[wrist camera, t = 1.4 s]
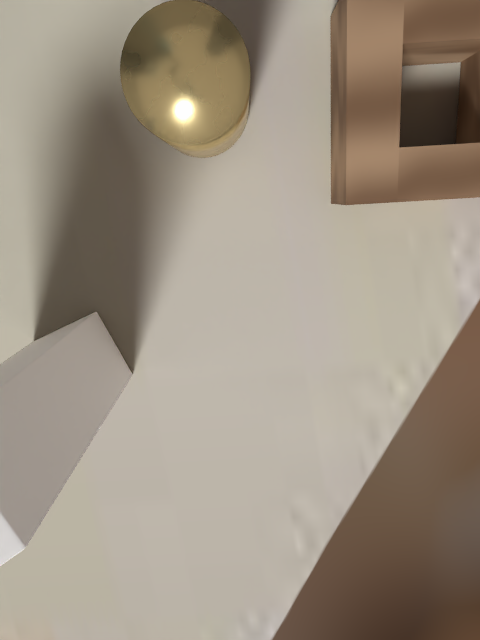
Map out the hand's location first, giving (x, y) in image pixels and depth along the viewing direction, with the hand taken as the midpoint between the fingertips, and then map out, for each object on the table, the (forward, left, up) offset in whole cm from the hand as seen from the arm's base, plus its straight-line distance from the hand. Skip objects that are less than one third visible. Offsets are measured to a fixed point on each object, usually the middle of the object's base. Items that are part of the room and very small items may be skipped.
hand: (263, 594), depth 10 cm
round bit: (-15, -3, -26) cm, 30 cm away
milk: (+3, -14, -26) cm, 30 cm away
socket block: (-14, +12, -26) cm, 32 cm away
